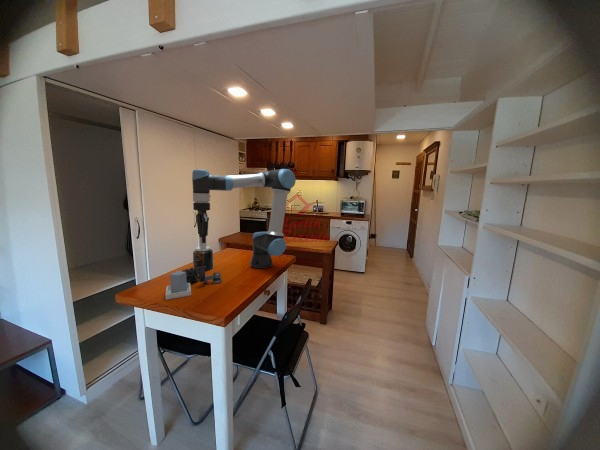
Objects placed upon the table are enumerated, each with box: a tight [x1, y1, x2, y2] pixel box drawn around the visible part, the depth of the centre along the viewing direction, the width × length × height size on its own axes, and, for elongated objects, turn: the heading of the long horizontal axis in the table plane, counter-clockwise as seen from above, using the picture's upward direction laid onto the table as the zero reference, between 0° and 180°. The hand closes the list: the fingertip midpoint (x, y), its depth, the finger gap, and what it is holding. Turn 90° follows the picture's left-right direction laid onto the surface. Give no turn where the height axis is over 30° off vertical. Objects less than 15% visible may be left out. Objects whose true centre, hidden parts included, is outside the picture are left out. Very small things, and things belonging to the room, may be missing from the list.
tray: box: [164, 282, 192, 301], centre depth 112 cm, size 11×11×2 cm
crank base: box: [202, 273, 222, 285], centre depth 125 cm, size 9×5×5 cm, turn 118°
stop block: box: [169, 270, 187, 293], centre depth 111 cm, size 5×5×10 cm
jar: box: [192, 245, 214, 273], centre depth 144 cm, size 12×12×15 cm
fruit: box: [181, 267, 199, 283], centre depth 125 cm, size 9×8×15 cm
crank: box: [197, 266, 222, 283], centre depth 122 cm, size 12×4×8 cm, turn 129°
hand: (203, 248), depth 112 cm, fingers closed
